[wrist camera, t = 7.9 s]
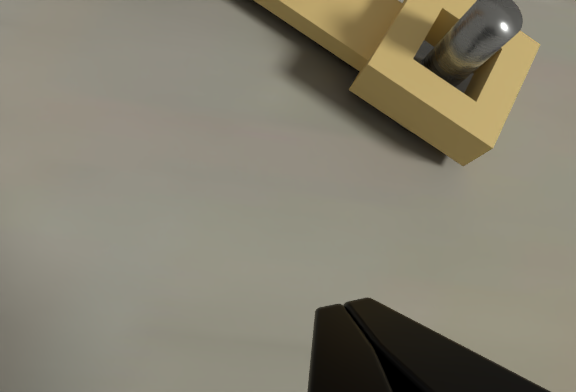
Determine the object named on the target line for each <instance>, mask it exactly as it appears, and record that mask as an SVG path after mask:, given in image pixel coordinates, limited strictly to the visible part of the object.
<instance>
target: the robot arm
mask: <svg viewBox="0 0 576 392" xmlns="http://www.w3.org/2000/svg"><path fill="white" fill-rule="evenodd" d="M308 392H550V391H548V390H546V389H545V388H543V387H541V386H539V385H537V384H535V383H533V382H531V381H529V380H527V379H525V378H523V377H521V376H520V375H518V374H516V373H514V372H512V371H510V370H508V369H506V368H504V367H502V366H500V365H498V364H496V363H495V362H493V361H491V360H489V359H487V358H485V357H483V356H481V355H479V354H477V353H475V352H473V351H471V350H470V349H468V348H466V347H464V346H462V345H460V344H458V343H456V342H454V341H452V340H450V339H448V338H447V337H445V336H443V335H441V334H439V333H437V332H435V331H433V330H431V329H429V328H427V327H425V326H423V325H422V324H420V323H418V322H416V321H414V320H412V319H410V318H408V317H406V316H404V315H402V314H400V313H398V312H397V311H395V310H393V309H391V308H389V307H387V306H385V305H383V304H381V303H379V302H377V301H375V300H373V299H371V298H363V299H358V300H353V301H349V302H346V303H345V304H344V305H341V304H334V305H330V306H325V307H320V308H318V309H316V311H315V319H314V330H313V340H312V351H311V361H310V371H309V382H308Z"/></svg>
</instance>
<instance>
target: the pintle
mask: <svg viewBox="0 0 576 392" xmlns="http://www.w3.org/2000/svg"><path fill="white" fill-rule="evenodd" d="M521 27H522V15H521V12H520V10H519V8H518V6H517V5H516V4H515V3H514V2H513V1H512V0H477V1H476V2H475V3H474V4H473V5H472V6H471V7H470V8H469V10H468V11H467V12H466V13H465V14H464V15H463V16H462V17H461V18H460V19H459V20H458V21H457V23H456V24H455V25H454V26H453V27H452V28H451V29H450V30H449V31H448V32H447V33H446V34H445V36H444V37H443V38H442V39H441V40H440V41H439V42H438V43H437V44H436V45H435V46H432V45H431V44H429V43H428V42H426V41H425V40H424V41H423V43H422V44H421V46H420V48H419V50H418V51H417V53H416V55H415V56H414V58H413V59H414V60H415V61H417V62H418V63H420V64H421V65H423V66H424V67H425V68H427V69H428V70H430V71H431V72H433V73H434V74H436V75H437V76H439V77H440V78H442V79H443V80H445V81H446V82H448V83H449V84H451V85H452V86H454V87H455V88H457V89H458V90H459V91H461V92H462V93H464V92H465V90H466V88H467V86H468V84H469V82H470V80H471V78H472V76H473V75H474V74H473V72H474V71H475V70H476V69H477V68H479V67H480V66H481V65H482V64H483V63H484V62H485V61H487V60H488V59H489V58H490V57H491V56H492V55H493V54H495V53H496V52H497V51H498V50H499V49H500V48H501V47H503V46H504V45H505V44H506V43H507V42H508V41H509V40H511V39H512V38H513V37H514V36H515V35H516V34H517V33H518V32H519V31H520V30H521ZM397 123H398V122H397ZM398 124H399V123H398ZM399 125H400V126H402V125H401V124H399ZM402 127H403V128H405V127H404V126H402ZM405 129H406V130H408V129H407V128H405ZM408 131H410V130H408ZM410 132H411V131H410ZM412 133H413V132H412Z"/></svg>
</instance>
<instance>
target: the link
mask: <svg viewBox="0 0 576 392" xmlns="http://www.w3.org/2000/svg"><path fill="white" fill-rule="evenodd" d="M254 1H255V2H257V3H258V4H260V5H261V6H263V7H264V8H266V9H267V10H269V11H270V12H272V13H273V14H275V15H276V16H278V17H279V18H281V19H282V20H284V21H285V22H287V23H288V24H290V25H291V26H293V27H294V28H296V29H297V30H299V31H300V32H302V33H303V34H305V35H306V36H308V37H309V38H311V39H312V40H313V41H315V42H316V43H318V44H319V45H321V46H322V47H324V48H325V49H327V50H328V51H330V52H331V53H333V54H334V55H336V56H337V57H339V58H340V59H342V60H343V61H345V62H346V63H348V64H349V65H351V66H352V67H354V68H355V69H357V70H358V71H360V72H359V74H358V75H357V77H356V79H355V80H354V82H353V84H352V85H351V87H350V88H349V90H350V91H351V92H353V93H354V94H356V95H357V96H359V97H360V98H362V99H363V100H365V101H366V102H368V103H369V104H371V105H372V106H374V107H375V108H377V109H378V110H380V111H381V112H383V113H384V114H386V115H387V116H389V117H390V118H392V119H393V120H395V121H396V122H398V123H399V124H401V125H402V126H404V127H405V128H407V129H408V130H410V131H411V132H413V133H414V134H416V135H417V136H419V137H420V138H422V139H423V140H425V141H426V142H428V143H429V144H431V145H432V146H434V147H435V148H437V149H438V150H440V151H441V152H443V153H444V154H446V155H447V156H449V157H450V158H452V159H453V160H455V161H456V162H458V163H459V164H461V165H462V166H465V165H466V164H468V163H470V162H471V161H473V160H474V159H476V158H478V157H479V156H481V155H483V154H484V153H486V152H488V151H489V150H491V149H493V147H494V145H495V143H496V141H497V138H498V136H499V134H500V132H501V130H502V127H503V125H504V123H505V121H506V119H507V117H508V114H509V112H510V110H511V108H512V106H513V103H514V101H515V99H516V97H517V95H518V92H519V90H520V88H521V86H522V84H523V82H524V79H525V77H526V75H527V73H528V71H529V68H530V66H531V64H532V62H533V60H534V57H535V55H536V53H537V51H538V49H539V46H540V44H539V43H537V42H536V41H534V40H533V39H531V38H530V37H529V36H527V35H526V34H524V33H523V32H521V31H519V32H518V33H517V34H516V35H515V36H514V37H513V38H512V39H511V40H509V41H508V42H507V43H506V44H505V45H504V46H503V47H501V48H500V49H499V50H498V51H497V52H496V53H495V54H493V55H492V56H491V57H490V58H489V59H488V60H487V61H485V62H484V63H483V64H482V65H481V66H480V67H479V68H477V69H476V70H475V71H474V72H473V74H474V75H473V76H472V78H471V80H470V82H469V84H468V86H467V88H466V90H465V92H464V93H462V92H461V91H459V90H458V89H457V88H455V87H454V86H452V85H451V84H449V83H448V82H446V81H445V80H443V79H442V78H440V77H439V76H437V75H436V74H434V73H433V72H431V71H430V70H428V69H427V68H425V67H424V66H423V65H421V64H420V63H418V62H417V61H415V60H414V59H413V58H414V56H415V55H416V53H417V51H418V50H419V48H420V46H421V44H422V43H423V41H424V40H425V41H426V42H428V43H429V44H431V45H432V46H435V45H436V44H437V43H438V42H439V41H440V40H441V39H442V38H443V37H444V36H445V34H446V33H447V32H448V31H449V30H450V29H451V28H452V27H453V26H454V25H455V24H456V23H457V21H458V20H459V19H460V18H461V17H462V16H463V15H464V14H465V13H466V12H467V11H468V10H469V8H470V7H471V6H472V5H473V4H474V3H475V2H476V0H404V1H403V3H401V2H399V1H398V0H254Z"/></svg>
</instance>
